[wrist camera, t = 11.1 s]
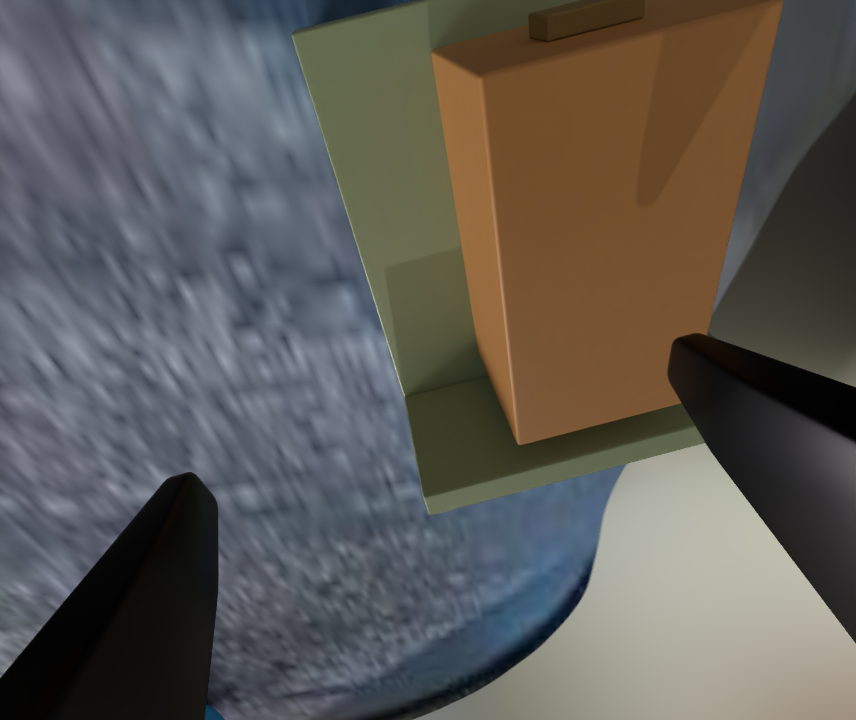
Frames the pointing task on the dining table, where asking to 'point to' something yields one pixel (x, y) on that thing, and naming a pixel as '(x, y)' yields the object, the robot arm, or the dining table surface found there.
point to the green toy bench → (439, 253)
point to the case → (598, 193)
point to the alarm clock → (212, 714)
